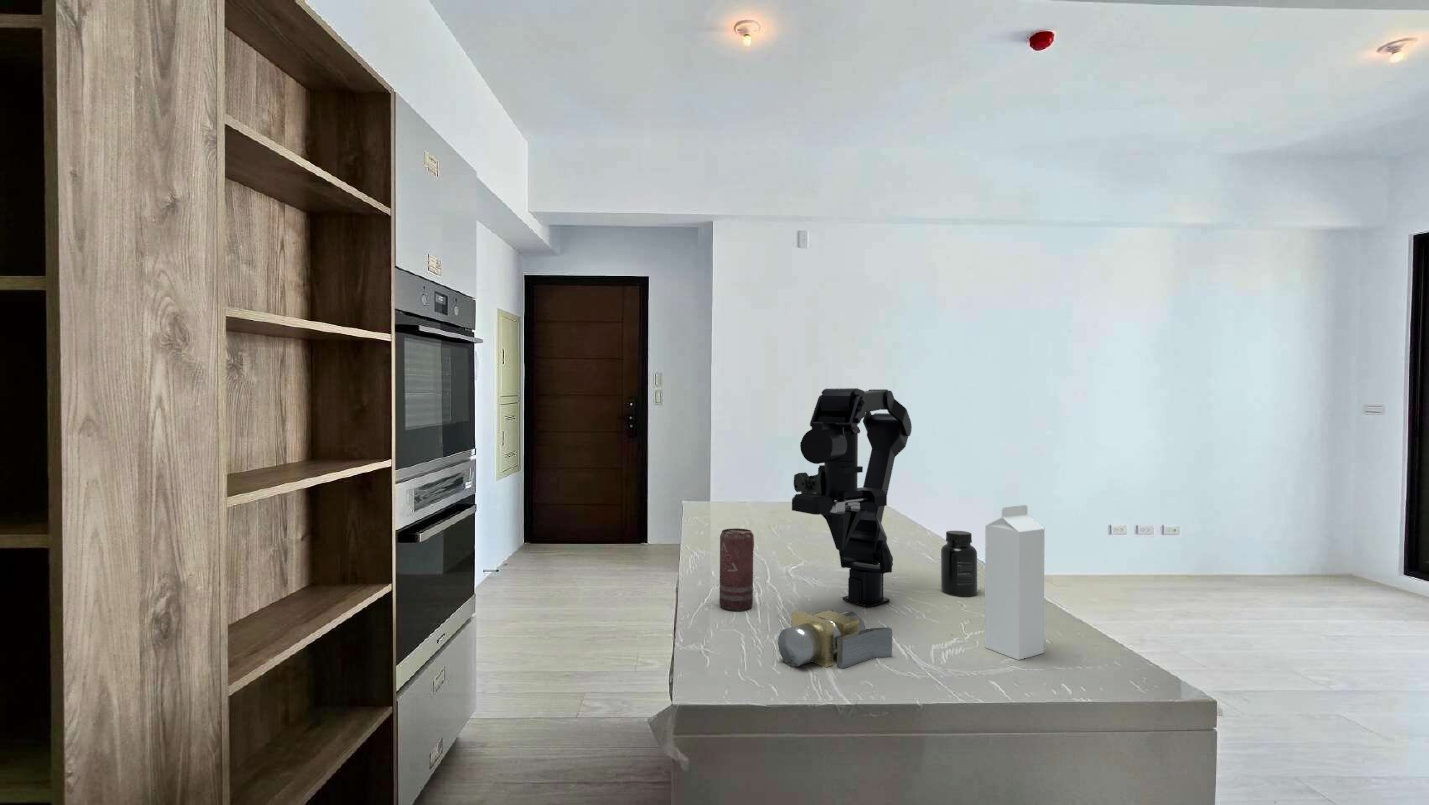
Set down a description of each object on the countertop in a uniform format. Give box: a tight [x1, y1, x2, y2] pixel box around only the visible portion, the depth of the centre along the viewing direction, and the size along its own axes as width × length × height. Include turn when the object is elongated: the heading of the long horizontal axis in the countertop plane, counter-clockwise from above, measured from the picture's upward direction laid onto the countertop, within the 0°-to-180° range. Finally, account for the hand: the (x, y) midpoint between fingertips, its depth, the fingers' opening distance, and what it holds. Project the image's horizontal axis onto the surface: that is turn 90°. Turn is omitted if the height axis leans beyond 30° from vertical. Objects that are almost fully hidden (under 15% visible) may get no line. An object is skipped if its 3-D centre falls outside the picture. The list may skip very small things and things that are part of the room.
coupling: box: [777, 607, 893, 670], centre depth 99 cm, size 15×13×6 cm
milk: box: [984, 504, 1045, 661], centre depth 101 cm, size 6×6×22 cm
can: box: [718, 527, 755, 612], centre depth 122 cm, size 6×6×14 cm
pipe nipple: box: [813, 610, 867, 659], centre depth 100 cm, size 8×6×5 cm
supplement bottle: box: [940, 530, 978, 597], centre depth 133 cm, size 7×7×12 cm
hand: (840, 549), depth 115 cm, fingers closed
